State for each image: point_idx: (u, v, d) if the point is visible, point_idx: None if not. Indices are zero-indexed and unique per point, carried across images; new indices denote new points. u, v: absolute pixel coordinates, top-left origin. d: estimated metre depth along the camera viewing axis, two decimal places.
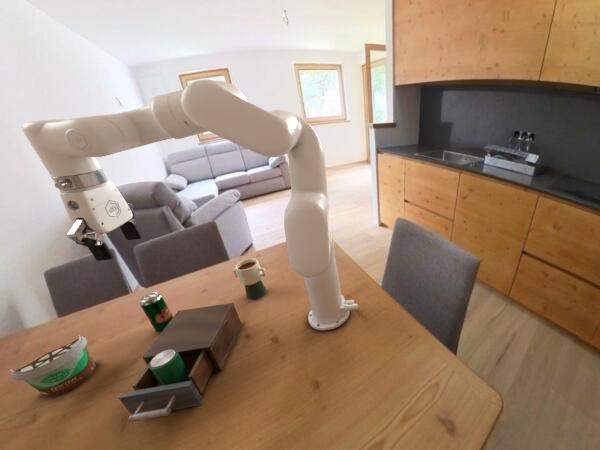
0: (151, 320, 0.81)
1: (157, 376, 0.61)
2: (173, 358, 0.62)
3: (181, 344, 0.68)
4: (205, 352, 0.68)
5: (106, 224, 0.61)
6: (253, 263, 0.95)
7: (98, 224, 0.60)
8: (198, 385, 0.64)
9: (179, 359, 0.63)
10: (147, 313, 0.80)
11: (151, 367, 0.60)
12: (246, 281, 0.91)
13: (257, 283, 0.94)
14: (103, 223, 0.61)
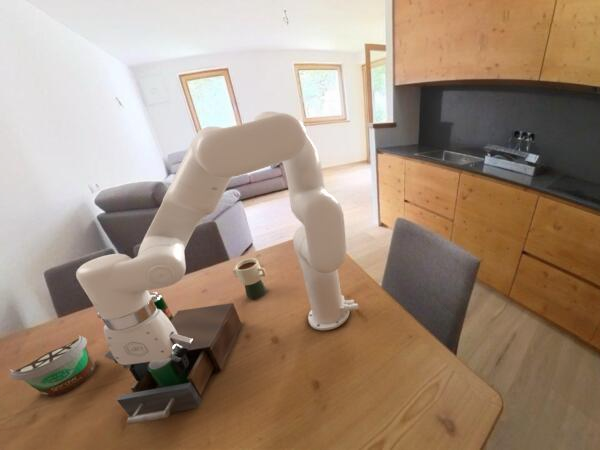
0: None
1: (156, 378, 0.60)
2: (172, 360, 0.62)
3: None
4: (204, 354, 0.67)
5: (122, 359, 0.57)
6: (253, 263, 0.95)
7: (114, 357, 0.56)
8: (197, 387, 0.63)
9: None
10: None
11: (150, 369, 0.60)
12: (246, 281, 0.91)
13: (257, 283, 0.94)
14: (119, 357, 0.56)
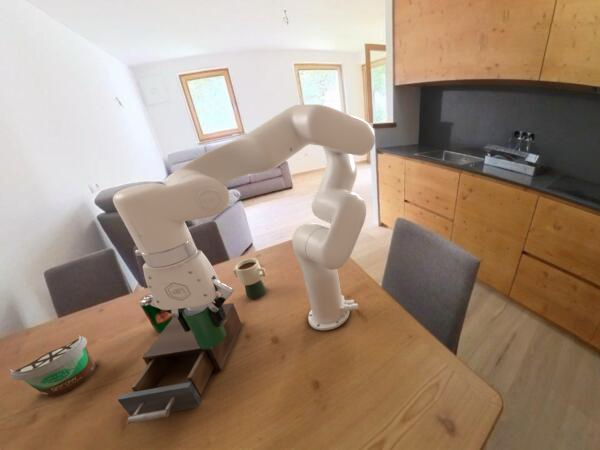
0: (151, 320, 0.81)
1: (191, 326, 0.55)
2: (208, 307, 0.56)
3: (181, 344, 0.68)
4: (204, 353, 0.67)
5: (163, 303, 0.52)
6: (253, 263, 0.95)
7: (154, 300, 0.52)
8: (197, 387, 0.63)
9: None
10: (147, 313, 0.80)
11: (185, 315, 0.54)
12: (246, 281, 0.91)
13: (257, 283, 0.94)
14: (159, 301, 0.52)
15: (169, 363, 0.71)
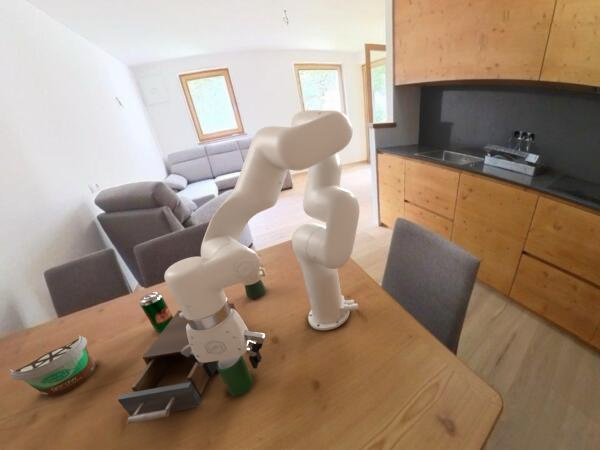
0: (151, 320, 0.81)
1: (224, 378, 0.62)
2: (239, 360, 0.63)
3: (181, 344, 0.68)
4: None
5: (202, 357, 0.59)
6: None
7: (194, 355, 0.58)
8: (197, 387, 0.63)
9: (243, 361, 0.65)
10: (147, 313, 0.80)
11: (219, 369, 0.61)
12: (246, 281, 0.91)
13: (257, 283, 0.94)
14: (199, 356, 0.59)
15: (169, 363, 0.71)
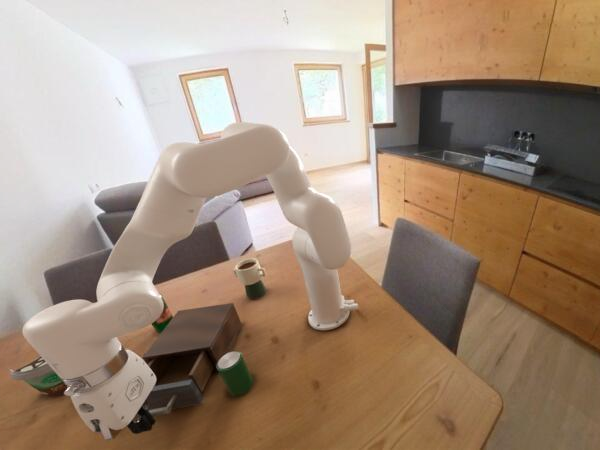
0: None
1: (224, 378, 0.62)
2: (239, 360, 0.63)
3: (181, 344, 0.68)
4: (206, 351, 0.68)
5: (127, 415, 0.49)
6: (253, 263, 0.95)
7: (117, 421, 0.47)
8: (199, 384, 0.64)
9: (243, 361, 0.65)
10: None
11: (219, 369, 0.61)
12: (246, 281, 0.91)
13: (257, 283, 0.94)
14: (123, 416, 0.48)
15: (170, 361, 0.71)
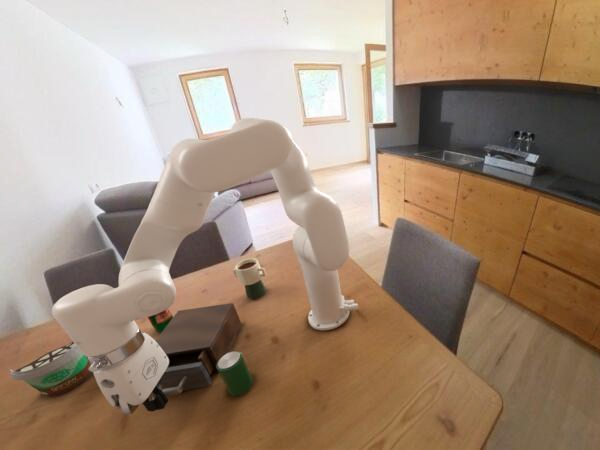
0: (151, 320, 0.81)
1: (224, 378, 0.62)
2: (239, 360, 0.63)
3: (181, 344, 0.68)
4: None
5: (143, 392, 0.53)
6: (253, 263, 0.95)
7: (135, 397, 0.51)
8: (207, 367, 0.68)
9: (243, 361, 0.65)
10: None
11: (219, 369, 0.61)
12: (246, 281, 0.91)
13: (257, 283, 0.94)
14: (140, 393, 0.52)
15: None
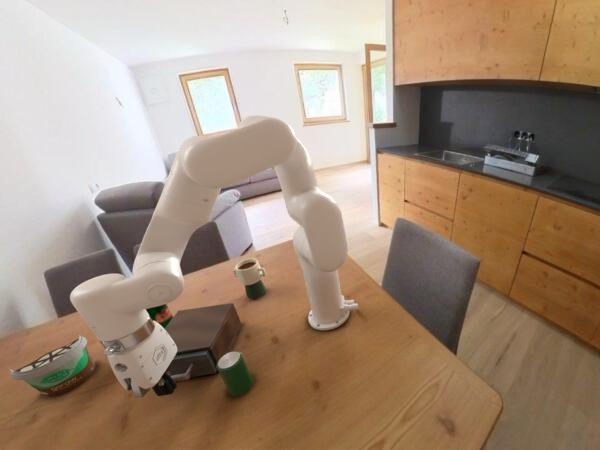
0: None
1: (224, 378, 0.62)
2: (239, 360, 0.63)
3: (181, 344, 0.68)
4: None
5: (154, 376, 0.56)
6: (253, 263, 0.95)
7: (147, 381, 0.54)
8: None
9: (243, 361, 0.65)
10: None
11: (219, 369, 0.61)
12: (246, 281, 0.91)
13: (257, 283, 0.94)
14: (151, 377, 0.55)
15: None
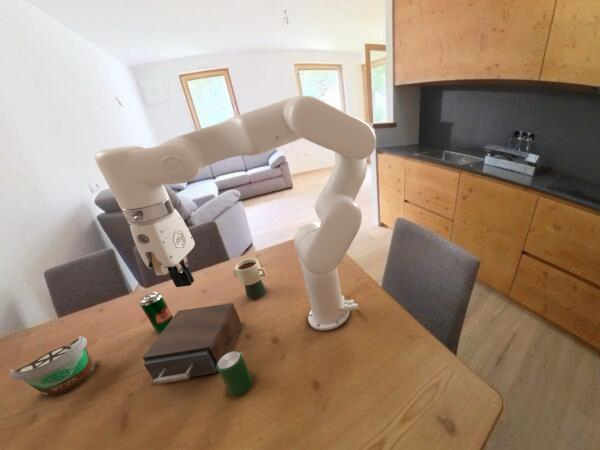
0: (151, 320, 0.81)
1: (224, 378, 0.62)
2: (239, 360, 0.63)
3: (181, 344, 0.68)
4: None
5: (174, 257, 0.57)
6: (253, 263, 0.95)
7: (167, 258, 0.55)
8: None
9: (243, 361, 0.65)
10: (147, 313, 0.80)
11: (219, 369, 0.61)
12: (246, 281, 0.91)
13: (257, 283, 0.94)
14: (171, 256, 0.56)
15: None
